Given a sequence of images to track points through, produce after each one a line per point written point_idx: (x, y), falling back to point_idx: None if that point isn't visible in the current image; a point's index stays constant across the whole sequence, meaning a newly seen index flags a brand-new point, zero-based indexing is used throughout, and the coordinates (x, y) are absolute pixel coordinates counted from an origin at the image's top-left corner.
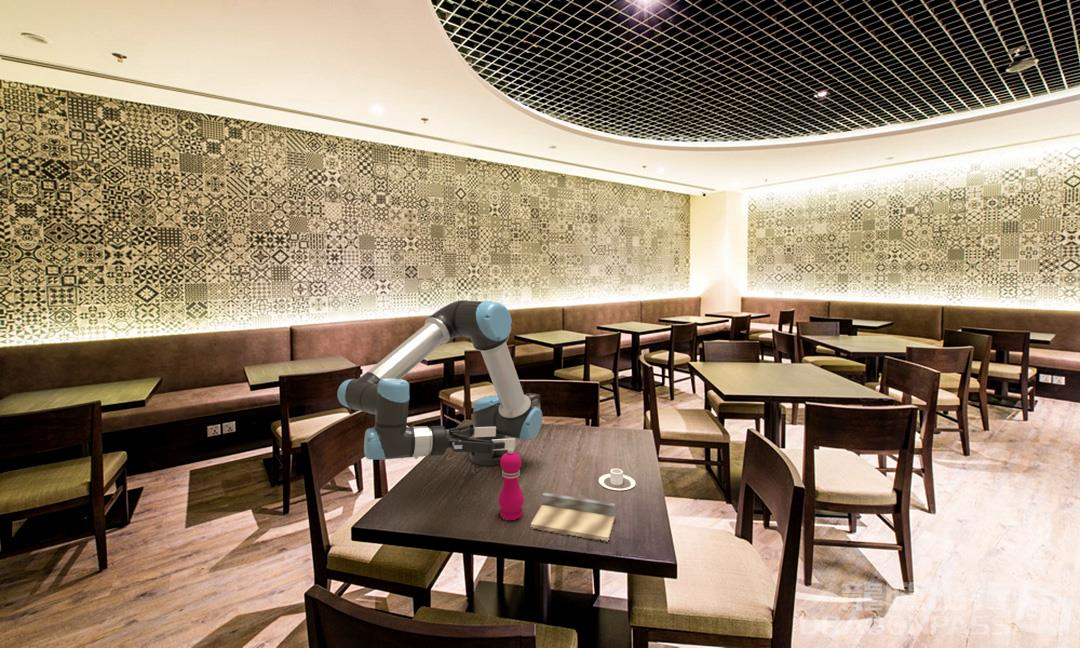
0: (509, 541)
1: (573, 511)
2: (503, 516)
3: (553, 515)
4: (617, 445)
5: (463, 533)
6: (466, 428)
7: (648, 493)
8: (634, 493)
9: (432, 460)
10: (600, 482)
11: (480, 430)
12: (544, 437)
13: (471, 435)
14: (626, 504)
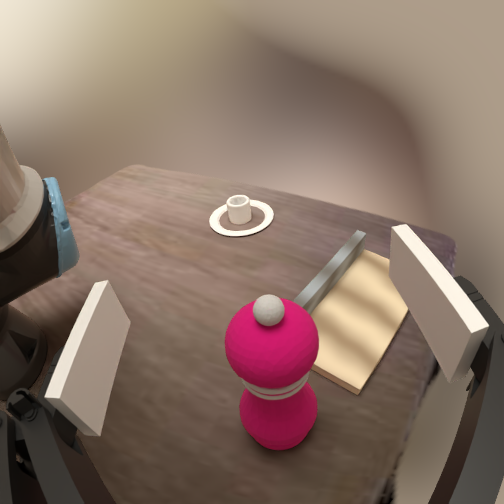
0: (394, 448)
1: (332, 297)
2: (294, 444)
3: (337, 335)
4: (136, 189)
5: None
6: (35, 460)
7: (293, 199)
8: (286, 211)
9: None
10: (231, 234)
11: (84, 373)
12: None
13: (79, 445)
14: (315, 228)
